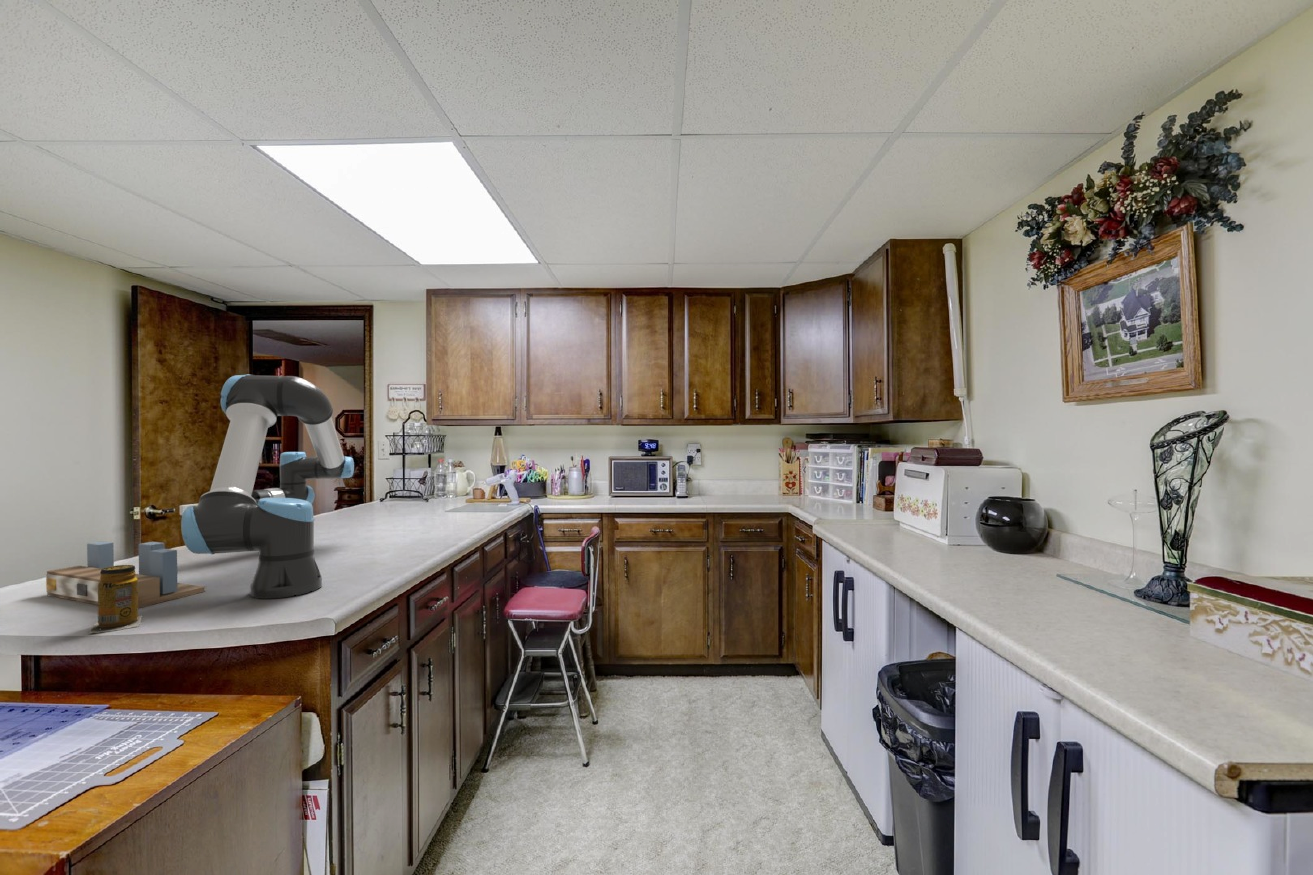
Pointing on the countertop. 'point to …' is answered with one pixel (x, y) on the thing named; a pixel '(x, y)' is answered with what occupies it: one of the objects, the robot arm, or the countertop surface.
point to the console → (85, 580)
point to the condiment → (117, 599)
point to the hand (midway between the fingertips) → (181, 510)
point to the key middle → (147, 555)
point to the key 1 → (100, 555)
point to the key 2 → (164, 569)
